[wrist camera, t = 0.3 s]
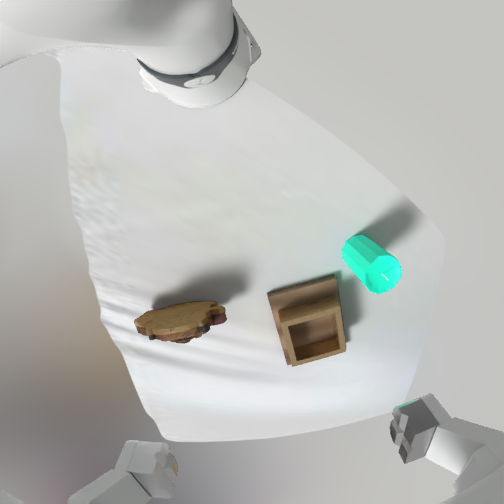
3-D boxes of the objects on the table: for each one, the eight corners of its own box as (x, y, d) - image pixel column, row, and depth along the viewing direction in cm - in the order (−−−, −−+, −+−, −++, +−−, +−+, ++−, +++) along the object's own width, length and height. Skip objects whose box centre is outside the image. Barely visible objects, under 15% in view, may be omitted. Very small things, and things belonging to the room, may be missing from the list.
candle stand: (267, 293, 50) (269, 309, 44) (334, 274, 49) (343, 288, 44) (286, 360, 55) (290, 378, 50) (344, 344, 54) (352, 361, 49)
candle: (376, 236, 47) (411, 261, 35) (369, 268, 49) (399, 299, 37) (345, 232, 46) (374, 257, 35) (338, 266, 48) (364, 298, 37)
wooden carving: (150, 327, 52) (134, 360, 42) (140, 307, 50) (121, 338, 41) (231, 307, 50) (229, 341, 41) (223, 285, 49) (218, 316, 40)
